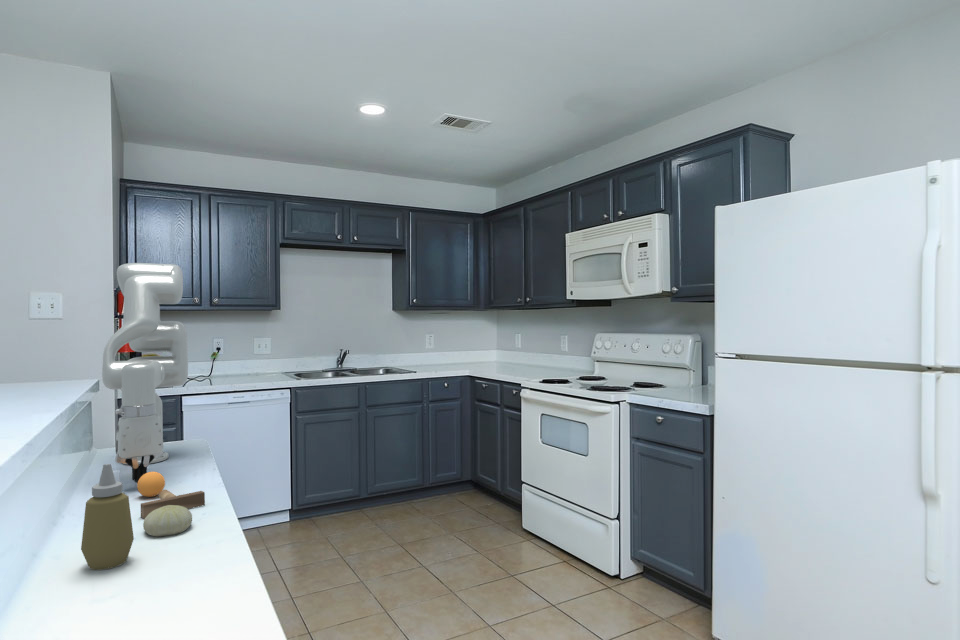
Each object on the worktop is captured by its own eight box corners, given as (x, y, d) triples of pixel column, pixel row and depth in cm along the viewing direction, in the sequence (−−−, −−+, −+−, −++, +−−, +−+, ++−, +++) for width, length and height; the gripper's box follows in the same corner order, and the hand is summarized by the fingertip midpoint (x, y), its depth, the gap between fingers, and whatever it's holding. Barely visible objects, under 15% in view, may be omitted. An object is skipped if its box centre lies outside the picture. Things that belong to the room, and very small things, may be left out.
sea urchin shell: (203, 513, 129) (188, 495, 123) (189, 548, 123) (172, 532, 117) (164, 511, 129) (146, 493, 124) (147, 547, 124) (128, 530, 118)
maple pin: (168, 488, 144) (181, 496, 138) (169, 498, 145) (182, 506, 138) (158, 491, 143) (170, 499, 137) (159, 500, 143) (171, 509, 137)
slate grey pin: (108, 507, 138) (108, 470, 138) (120, 505, 139) (120, 469, 139) (107, 510, 136) (106, 473, 136) (119, 508, 137) (118, 472, 137)
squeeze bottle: (95, 577, 101) (94, 473, 101) (72, 567, 106) (71, 466, 105) (143, 560, 108) (142, 462, 108) (119, 551, 112) (118, 457, 112)
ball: (149, 492, 141) (144, 506, 144) (172, 479, 146) (167, 493, 149) (134, 474, 142) (129, 488, 145) (157, 462, 147) (152, 476, 150)
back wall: (140, 516, 131) (140, 503, 131) (201, 503, 140) (201, 490, 140) (143, 519, 130) (143, 505, 130) (204, 505, 139) (204, 492, 139)
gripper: (109, 416, 144) (110, 491, 145) (175, 409, 155) (175, 479, 155) (101, 413, 150) (102, 485, 150) (165, 406, 160) (165, 473, 161)
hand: (139, 482), depth 153 cm, fingers closed
